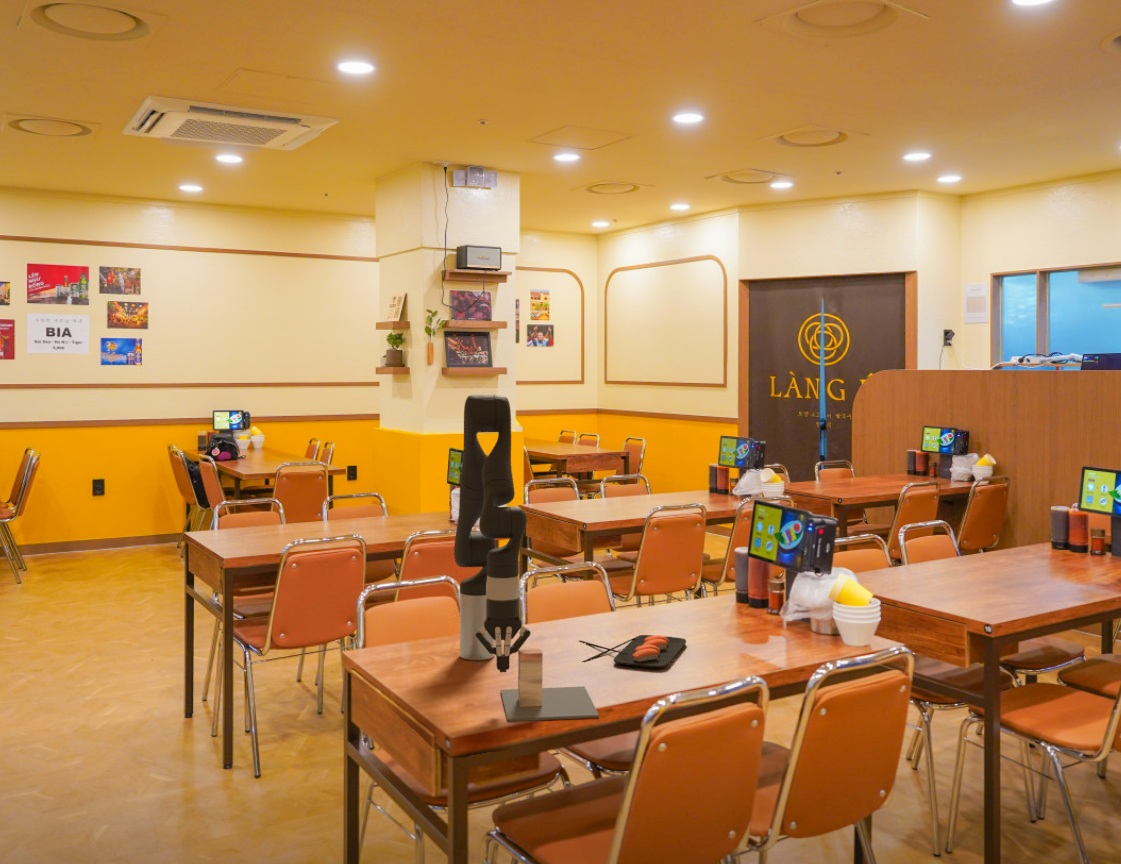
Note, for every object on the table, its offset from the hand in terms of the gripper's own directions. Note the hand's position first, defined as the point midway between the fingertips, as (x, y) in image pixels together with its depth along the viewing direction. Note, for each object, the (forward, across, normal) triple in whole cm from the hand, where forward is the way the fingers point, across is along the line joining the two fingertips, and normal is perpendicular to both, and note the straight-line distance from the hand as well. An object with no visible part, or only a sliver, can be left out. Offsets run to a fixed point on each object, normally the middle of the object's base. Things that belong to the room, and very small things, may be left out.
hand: (502, 671), depth 220 cm
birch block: (+7, -6, 0) cm, 10 cm away
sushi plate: (+9, -36, -41) cm, 55 cm away
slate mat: (+8, -10, 0) cm, 13 cm away
